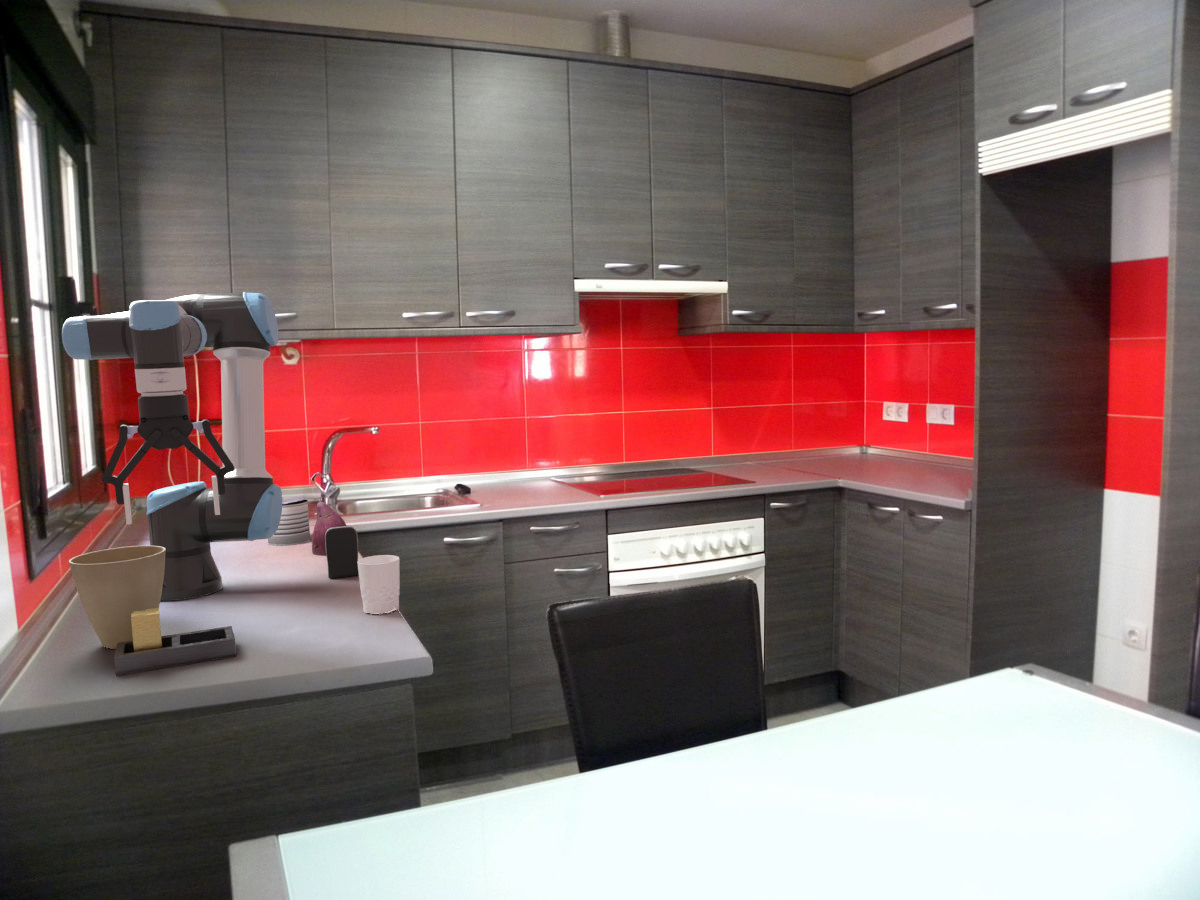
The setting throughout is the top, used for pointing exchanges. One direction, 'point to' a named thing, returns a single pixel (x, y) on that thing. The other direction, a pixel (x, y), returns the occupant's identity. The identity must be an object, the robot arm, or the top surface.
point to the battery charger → (341, 551)
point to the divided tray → (177, 651)
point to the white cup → (379, 583)
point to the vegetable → (324, 526)
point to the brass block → (146, 629)
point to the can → (292, 523)
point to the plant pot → (118, 587)
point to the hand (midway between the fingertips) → (174, 518)
